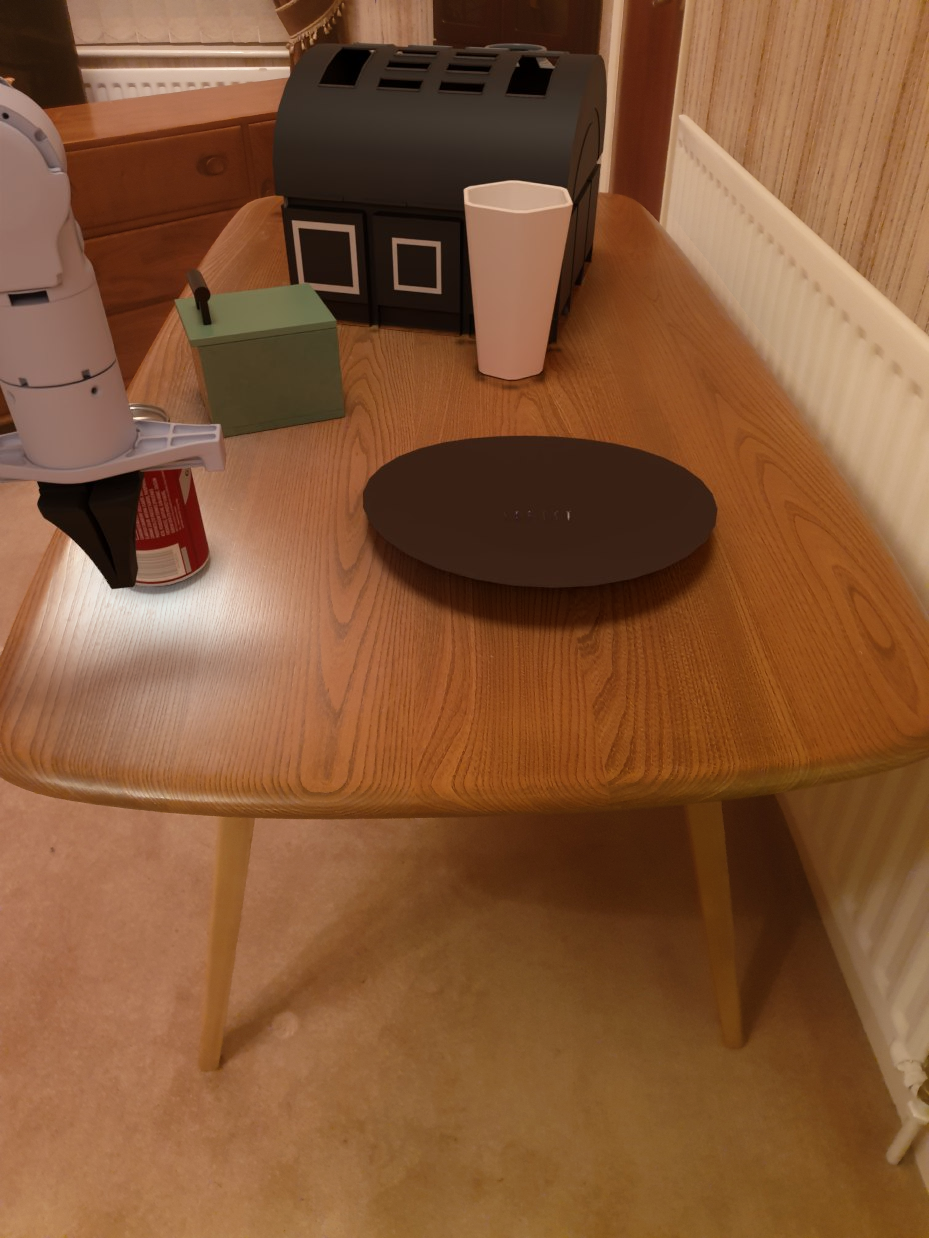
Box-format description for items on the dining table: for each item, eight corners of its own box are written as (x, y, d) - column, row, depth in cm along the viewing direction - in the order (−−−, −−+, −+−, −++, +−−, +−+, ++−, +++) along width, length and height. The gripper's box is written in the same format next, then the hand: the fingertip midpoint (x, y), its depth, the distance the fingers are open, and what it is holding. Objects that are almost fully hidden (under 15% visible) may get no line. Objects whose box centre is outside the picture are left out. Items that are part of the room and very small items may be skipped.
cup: (561, 388, 89) (577, 212, 78) (463, 388, 89) (465, 211, 78) (551, 345, 98) (564, 180, 87) (462, 345, 98) (463, 180, 87)
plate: (674, 436, 81) (681, 400, 79) (750, 630, 60) (762, 588, 58) (377, 435, 81) (375, 398, 79) (347, 628, 60) (342, 587, 57)
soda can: (198, 595, 63) (162, 447, 55) (105, 593, 63) (56, 445, 55) (220, 541, 68) (190, 399, 60) (134, 540, 68) (93, 397, 60)
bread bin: (216, 438, 80) (198, 347, 75) (199, 392, 88) (182, 306, 82) (345, 416, 84) (337, 328, 78) (318, 374, 91) (309, 290, 86)
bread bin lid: (191, 347, 75) (181, 300, 72) (175, 306, 82) (166, 262, 79) (337, 327, 78) (333, 281, 76) (309, 290, 86) (305, 247, 83)
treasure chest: (554, 347, 97) (575, 78, 81) (290, 319, 103) (258, 63, 86) (592, 259, 121) (614, 37, 104) (375, 240, 127) (363, 27, 110)
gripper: (209, 325, 48) (248, 530, 56) (-73, 342, 46) (13, 551, 54) (201, 379, 42) (245, 596, 51) (-118, 401, 40) (-15, 623, 49)
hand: (124, 578), depth 52 cm, fingers closed
